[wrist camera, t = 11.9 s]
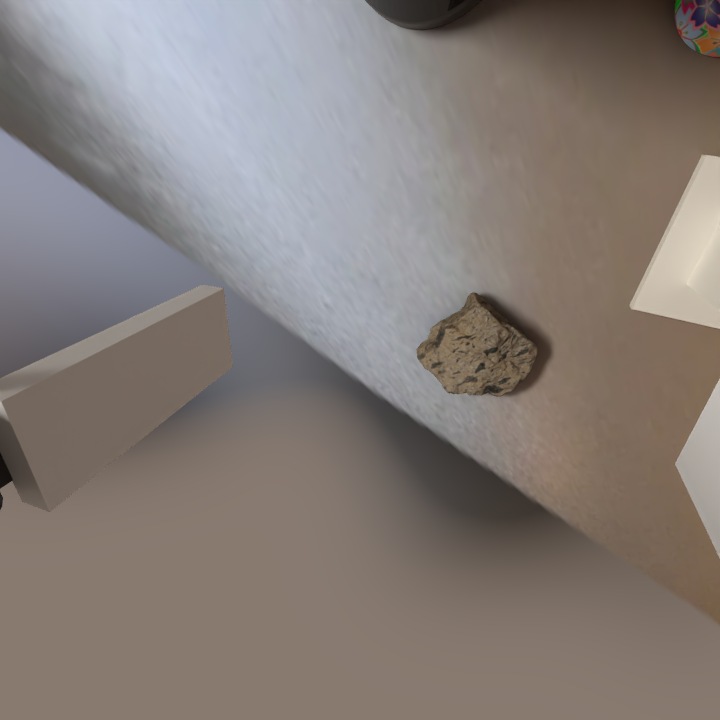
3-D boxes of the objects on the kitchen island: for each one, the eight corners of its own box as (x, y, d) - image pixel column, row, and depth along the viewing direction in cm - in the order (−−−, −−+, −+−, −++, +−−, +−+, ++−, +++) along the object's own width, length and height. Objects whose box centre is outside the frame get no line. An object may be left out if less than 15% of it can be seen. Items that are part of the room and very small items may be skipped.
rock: (478, 405, 54) (475, 424, 50) (412, 342, 53) (404, 357, 49) (552, 353, 48) (555, 371, 44) (479, 281, 47) (476, 293, 43)
